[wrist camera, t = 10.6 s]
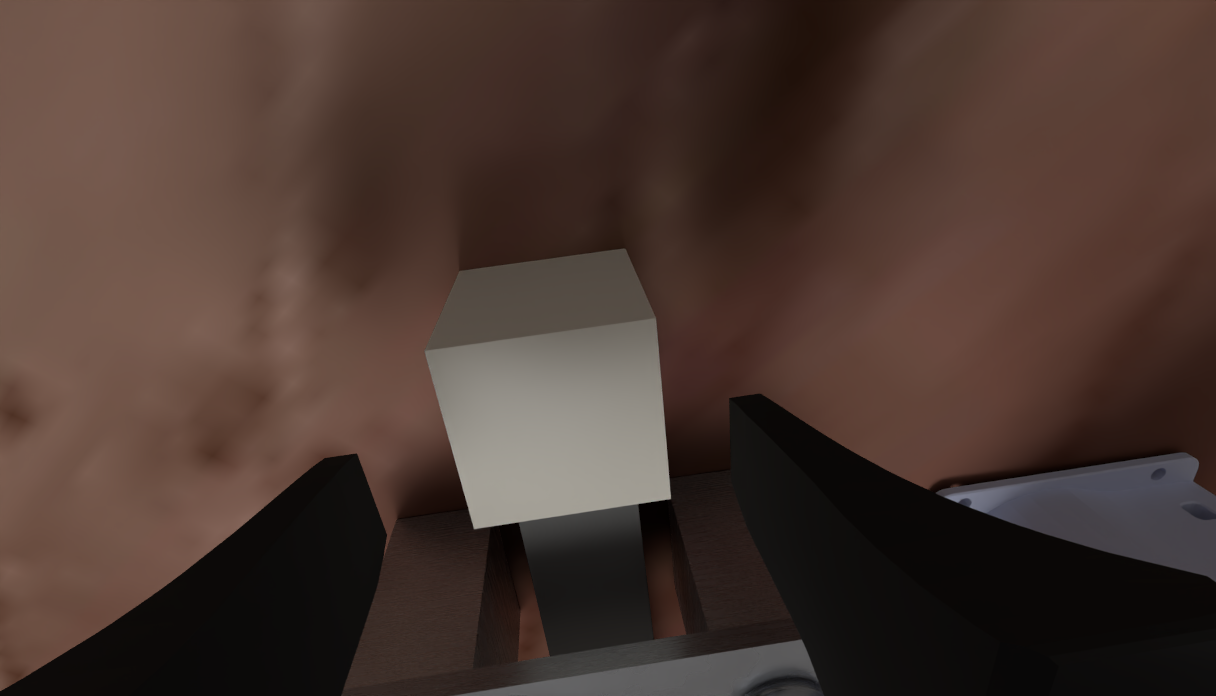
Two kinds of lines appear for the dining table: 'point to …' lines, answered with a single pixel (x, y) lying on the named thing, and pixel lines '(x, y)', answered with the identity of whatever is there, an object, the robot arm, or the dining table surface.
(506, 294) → the plug
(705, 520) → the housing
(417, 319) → the dining table surface
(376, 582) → the robot arm
